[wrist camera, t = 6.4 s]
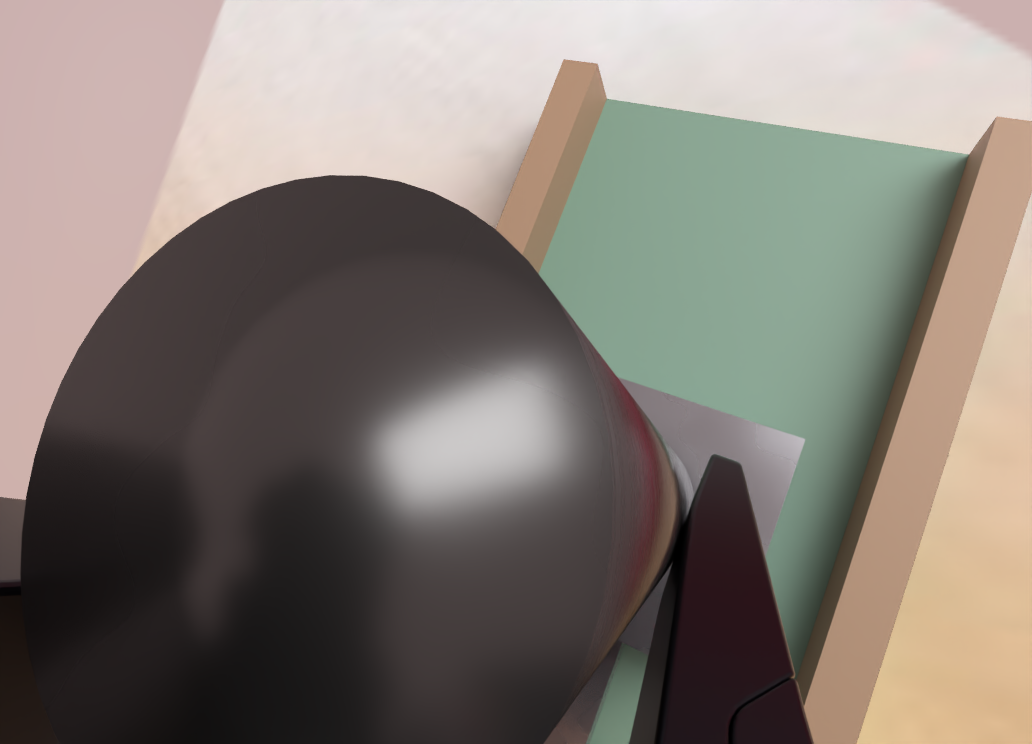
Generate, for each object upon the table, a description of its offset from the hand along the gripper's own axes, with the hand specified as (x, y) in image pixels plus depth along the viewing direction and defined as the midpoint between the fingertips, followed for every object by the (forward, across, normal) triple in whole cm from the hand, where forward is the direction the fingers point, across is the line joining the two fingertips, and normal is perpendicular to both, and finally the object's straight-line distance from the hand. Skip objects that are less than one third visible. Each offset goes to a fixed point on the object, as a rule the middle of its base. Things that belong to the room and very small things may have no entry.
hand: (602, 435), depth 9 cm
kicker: (+2, 0, +7) cm, 7 cm away
